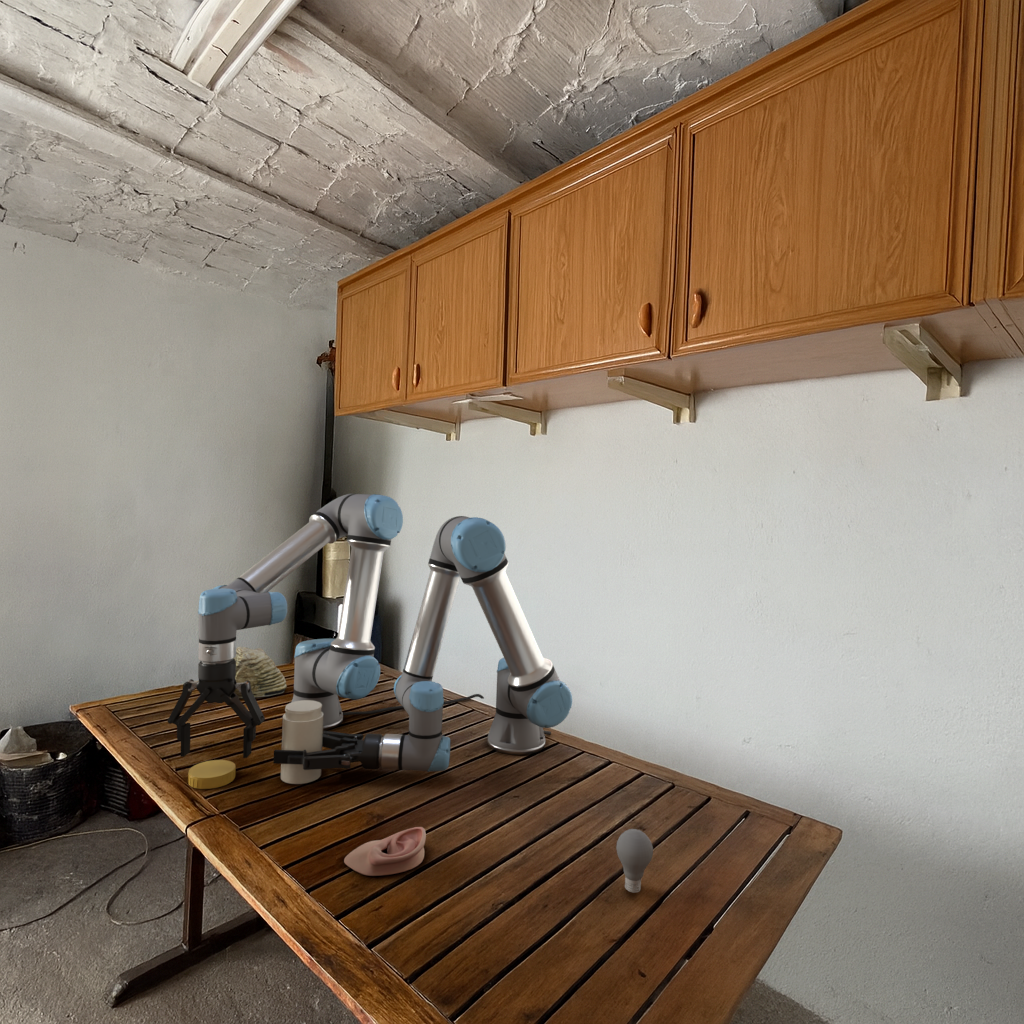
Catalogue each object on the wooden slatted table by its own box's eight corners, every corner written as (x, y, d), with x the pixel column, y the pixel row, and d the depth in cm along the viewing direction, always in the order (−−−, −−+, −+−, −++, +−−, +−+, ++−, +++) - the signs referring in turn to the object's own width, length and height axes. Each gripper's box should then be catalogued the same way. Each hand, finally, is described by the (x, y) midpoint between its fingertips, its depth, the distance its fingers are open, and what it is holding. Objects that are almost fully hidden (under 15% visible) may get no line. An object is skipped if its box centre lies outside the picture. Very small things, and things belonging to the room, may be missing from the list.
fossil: (218, 695, 195) (220, 647, 195) (278, 685, 208) (279, 640, 207) (228, 703, 189) (230, 653, 188) (289, 692, 201) (290, 645, 201)
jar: (290, 787, 137) (293, 714, 137) (273, 774, 144) (276, 704, 143) (328, 777, 143) (330, 706, 143) (310, 764, 150) (313, 697, 149)
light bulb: (610, 879, 108) (613, 822, 108) (644, 879, 109) (647, 822, 109) (619, 902, 102) (622, 840, 102) (655, 901, 103) (658, 840, 103)
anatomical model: (336, 847, 108) (365, 815, 119) (335, 870, 108) (364, 836, 119) (410, 859, 105) (432, 825, 116) (409, 883, 105) (431, 846, 116)
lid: (231, 767, 146) (232, 756, 146) (238, 783, 138) (239, 772, 138) (185, 775, 141) (186, 764, 141) (190, 792, 133) (190, 781, 133)
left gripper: (150, 663, 135) (150, 760, 136) (268, 666, 136) (266, 763, 137) (169, 654, 143) (168, 746, 144) (280, 656, 143) (279, 748, 144)
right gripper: (371, 789, 133) (263, 786, 132) (389, 749, 154) (296, 746, 154) (372, 754, 133) (264, 750, 132) (390, 718, 154) (297, 715, 154)
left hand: (216, 755), depth 140 cm, fingers open, 13 cm apart
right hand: (281, 748), depth 143 cm, fingers closed on jar, 9 cm apart
